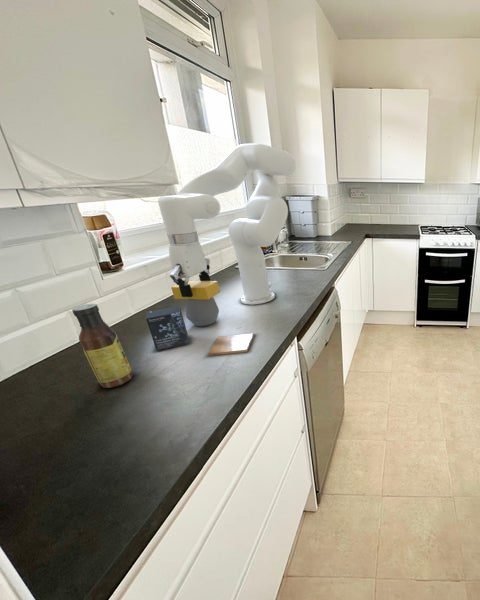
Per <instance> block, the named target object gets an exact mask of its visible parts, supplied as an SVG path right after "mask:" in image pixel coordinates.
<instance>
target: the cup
mask: <svg viewBox="0 0 480 600" xmlns="http://www.w3.org/2000/svg"><path fill="white" fill-rule="evenodd" d="M184 303H185V304H184V305H185V316H186V319H187V320H188V321H189V322H191V323H192V324H193V325H194V326H196V327H206V326H210V325H213V324H214V323H215V322H216V321H217V319H218V316H219V313H220V309H219V306H218V304H217V302H216V300H215V298H214V296H213V297H212V298H210V299H208V300H207V299H184Z"/></svg>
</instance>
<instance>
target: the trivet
mask: <svg viewBox="0 0 480 600" xmlns="http://www.w3.org/2000/svg"><path fill="white" fill-rule="evenodd" d="M254 336H255V333H254V332H252V333H241V334H231V335H220V336H218V337H217V339H216V340H215V342H214V344H213V345H212V347H211V348H210V350H209V351H208V353H207V355H208V357H212V356H223V355H233V354H241V353H248V351H249V348H250V346H251V344H252V342H253V339H254V338H255V337H254Z"/></svg>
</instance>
